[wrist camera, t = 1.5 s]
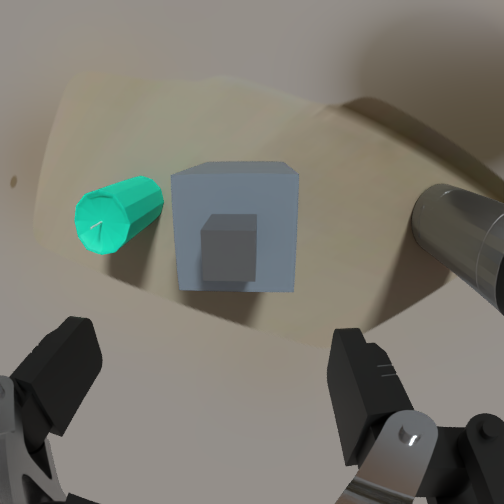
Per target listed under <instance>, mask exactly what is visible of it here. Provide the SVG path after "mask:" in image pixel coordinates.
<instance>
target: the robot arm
mask: <svg viewBox="0 0 504 504" xmlns="http://www.w3.org/2000/svg"><path fill="white" fill-rule="evenodd" d="M412 231H413V234H414V237H415V239H416V241H417V243H418V244H419V245H420V246H421V247H422V248H423V249H424V250H426V251H427V252H428V253H429V254H431V255H432V256H433V257H435V258H436V259H437V260H438V261H440V262H441V263H442V264H443V265H445V266H446V267H447V268H449V269H450V270H451V271H452V272H454V273H455V274H456V275H457V276H458V277H460V278H461V279H462V280H463V281H465V282H466V283H467V284H468V285H469V286H471V287H472V288H473V289H474V290H475V291H476V292H478V293H479V294H480V295H481V296H482V297H483V298H485V299H486V300H487V301H488V302H489V303H490V304H492V305H493V306H494V307H495V308H496V309H497V310H498V311H499V312H500V313H502V314H503V315H504V204H503V203H501V202H498V201H495V200H493V199H490V198H487V197H484V196H481V195H478V194H476V193H473V192H470V191H467V190H464V189H461V188H458V187H454V186H451V185H448V184H436V185H434V186H431V187H430V188H428V189H427V190H425V191H424V193H423V194H422V195H421V196H420V197H419V199H418V201H417V202H416V205H415V207H414V210H413V214H412ZM101 368H102V354H101V350H100V347H99V344H98V341H97V337H96V334H95V330H94V327H93V324H92V321H91V320H90V319H88V318H81V317H73V316H70V317H68V318H67V319H66V320H65V321H64V322H63V323H62V324H61V325H60V326H59V327H58V328H57V329H56V330H54V331H52V332H51V333H49V334H47V335H46V336H45V337H44V338H43V339H42V340H41V342H40V343H39V345H38V346H36V347H35V348H34V349H33V351H32V353H30V354H29V355H28V356H27V357H26V358H25V359H24V361H23V362H22V363H21V364H20V365H19V366H18V368H17V369H16V370H15V371H14V372H13V373H12V375H11V376H10V377H7V376H0V504H99V503H95V502H93V501H89V500H87V499H84V498H82V497H79V496H76V495H74V494H71V493H69V494H68V496H67V497H66V496H65V494H64V492H63V491H62V489H61V487H60V484H59V481H58V477H57V473H56V469H55V465H54V461H53V456H52V452H51V447H50V443H49V440H48V439H47V435H48V433H49V432H50V433H53V434H56V435H59V436H61V437H62V436H63V434H64V433H65V431H66V429H67V427H68V425H69V424H70V422H71V420H72V418H73V416H74V414H75V413H76V411H77V409H78V408H79V406H80V404H81V402H82V400H83V399H84V397H85V396H86V394H87V392H88V391H89V389H90V387H91V385H92V384H93V382H94V380H95V379H96V377H97V376H98V374H99V372H100V370H101ZM327 383H328V388H329V392H330V397H331V401H332V405H333V409H334V414H335V418H336V423H337V428H338V432H339V436H340V442H341V446H342V451H343V456H344V460H345V465H346V466H352V465H358V469H359V471H358V472H357V474H356V475H355V477H354V478H353V480H352V481H351V483H349V485H348V486H347V487H346V489H345V490H344V491H343V493H342V494H341V496H340V497H339V499H338V500H337V501H336V503H335V504H412V503H413V500H414V498H415V497H426V499H427V503H428V504H504V422H503V421H502V420H501V419H500V418H498V417H497V416H495V415H492V414H487V413H483V414H478V415H476V416H474V417H473V418H471V419H470V421H469V422H468V424H467V425H466V427H438V426H436V424H435V423H434V421H433V420H432V419H431V418H430V417H429V416H427V415H426V414H424V413H422V412H419V411H415V410H414V408H413V406H412V404H411V402H410V400H409V398H408V396H407V393H406V391H405V389H404V387H403V385H402V383H401V381H400V379H399V377H398V376H397V375H396V371H395V369H394V367H393V366H392V363H391V361H390V359H389V357H388V355H387V353H386V352H385V351H384V350H383V349H381V348H380V347H379V346H378V345H377V344H375V343H366V341H365V339H364V337H363V334H362V332H361V330H360V329H359V328H346V329H335V330H334V333H333V339H332V345H331V350H330V356H329V362H328V367H327Z"/></svg>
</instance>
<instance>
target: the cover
mask: <svg viewBox="0 0 504 504" xmlns="http://www.w3.org/2000/svg"><path fill="white" fill-rule="evenodd" d="M298 189H299V174H298V173H297V172H296V171H294V170H293V169H292V168H291V167H289V166H288V165H287V164H286V163H284V162H261V161H238V162H206V163H203V164H200V165H197V166H195V167H192V168H189V169H186V170H183V171H181V172H178V173H175V174H172V175H171V192H172V210H173V225H174V238H175V251H176V262H177V273H178V282H179V290H194V291H233V292H294V279H295V262H296V242H297V219H298Z"/></svg>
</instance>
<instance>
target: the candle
mask: <svg viewBox="0 0 504 504" xmlns="http://www.w3.org/2000/svg"><path fill="white" fill-rule="evenodd" d="M163 204H164V200H163V196H162V191H161V189H160V187H159V186H158V185H157V184H156V183H155V182H154V181H153V180H152V179H149V178H146V177H143V176H138V177H134V178H131V179H127V180H124V181H121V182H118V183H115V184H112V185H109V186H106V187H103V188H100V189H98V190H95V191H92V192H89V193H86V194H85V195H84V196H83V197H82V199H81V200H80V201H79V202H78V204H77V205H76V211H75V225H76V230H77V234H78V237H79V239H80V240H81V242H82V243H83V245H84V246H85V248H86V249H87V250H89V251H92V252H95V253H98V254H101V255H103V254H109V253H115V252H116V251H117V250H118V249H120V248H121V247H122V246H123V245H124V244H126V243H127V242H128V241H129V240H131V239H132V238H133V237H134V236H136V235H137V234H138V233H139V232H141V231H142V230H143V229H144V228H146V227H147V226H148V225H149V224H151V223H152V222H153V221H154V220H155V219H156V218H157V217H158V216H159V215H160V214H161V211H162V207H163Z"/></svg>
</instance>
